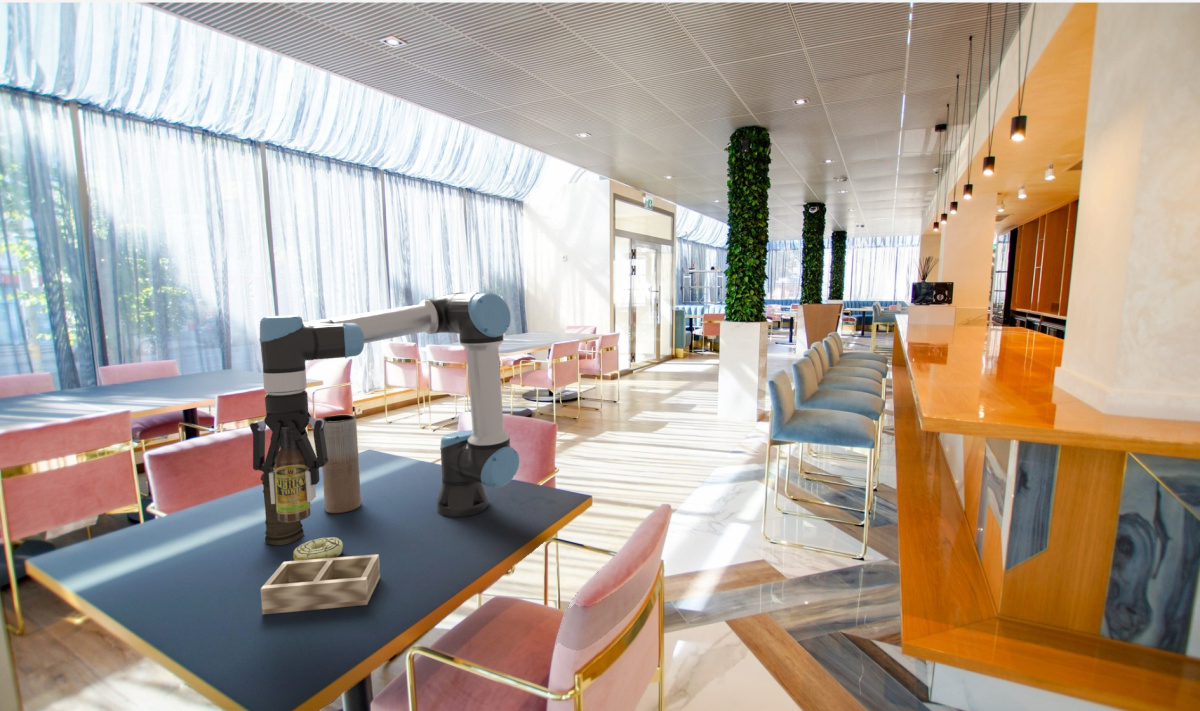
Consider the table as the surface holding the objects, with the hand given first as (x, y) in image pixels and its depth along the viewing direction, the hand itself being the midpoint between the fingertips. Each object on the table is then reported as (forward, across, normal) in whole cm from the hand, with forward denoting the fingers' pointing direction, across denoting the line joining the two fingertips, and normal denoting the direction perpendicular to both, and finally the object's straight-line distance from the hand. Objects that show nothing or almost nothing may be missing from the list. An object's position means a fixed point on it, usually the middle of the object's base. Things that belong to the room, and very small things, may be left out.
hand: (293, 500), depth 111 cm
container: (+22, +15, -31) cm, 40 cm away
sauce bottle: (+4, 0, 0) cm, 4 cm away
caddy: (+22, -5, 0) cm, 22 cm away
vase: (+22, +6, -50) cm, 55 cm away
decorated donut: (+22, +2, -18) cm, 28 cm away
